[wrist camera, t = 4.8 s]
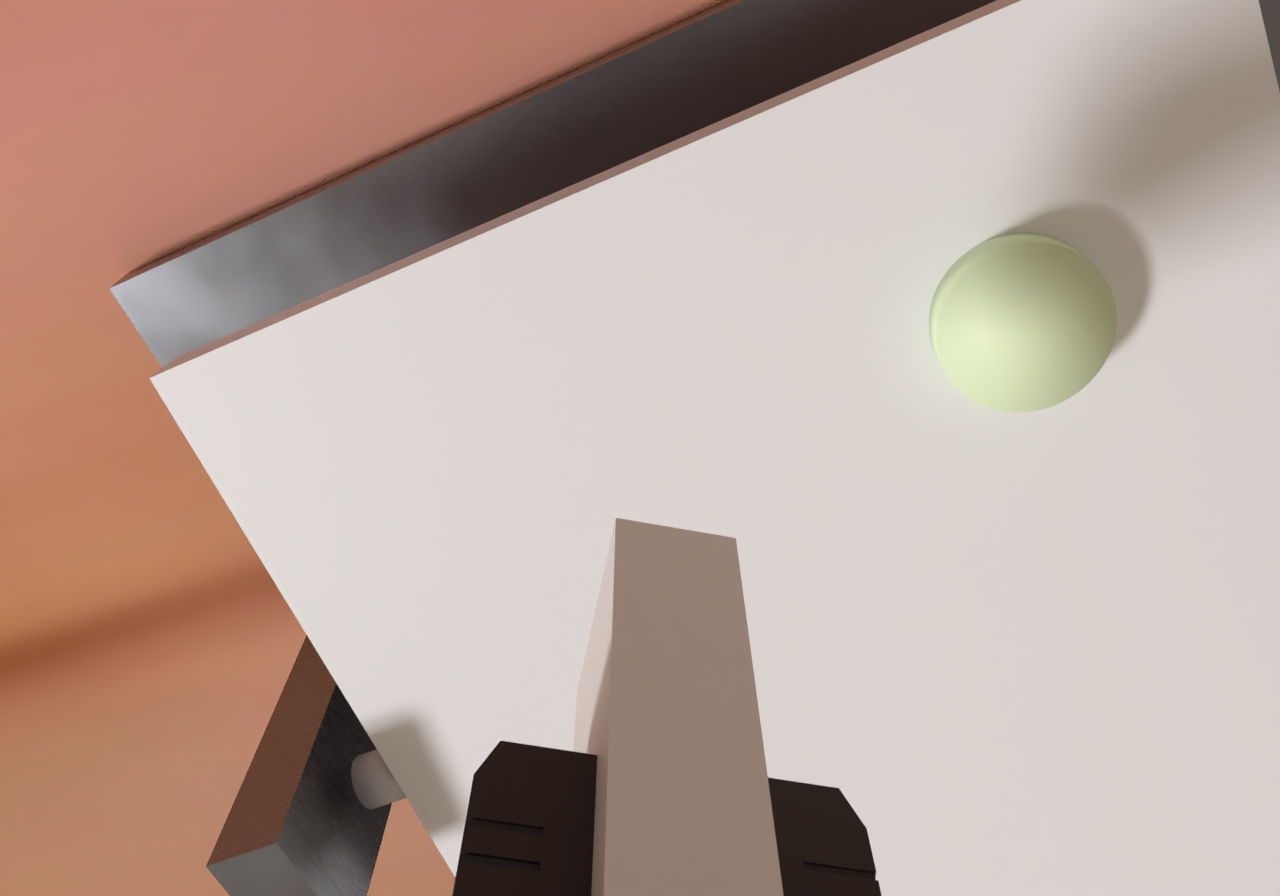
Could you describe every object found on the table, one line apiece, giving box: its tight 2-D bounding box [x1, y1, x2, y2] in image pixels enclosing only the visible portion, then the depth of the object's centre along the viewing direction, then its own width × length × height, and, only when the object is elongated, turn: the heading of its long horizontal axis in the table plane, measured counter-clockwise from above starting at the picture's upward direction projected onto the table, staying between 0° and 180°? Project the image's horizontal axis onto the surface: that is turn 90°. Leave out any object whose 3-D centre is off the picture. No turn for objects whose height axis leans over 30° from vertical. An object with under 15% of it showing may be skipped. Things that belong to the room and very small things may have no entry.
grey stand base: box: [109, 0, 1280, 896], centre depth 26 cm, size 22×26×10 cm
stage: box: [150, 0, 1280, 896], centre depth 24 cm, size 20×22×2 cm
